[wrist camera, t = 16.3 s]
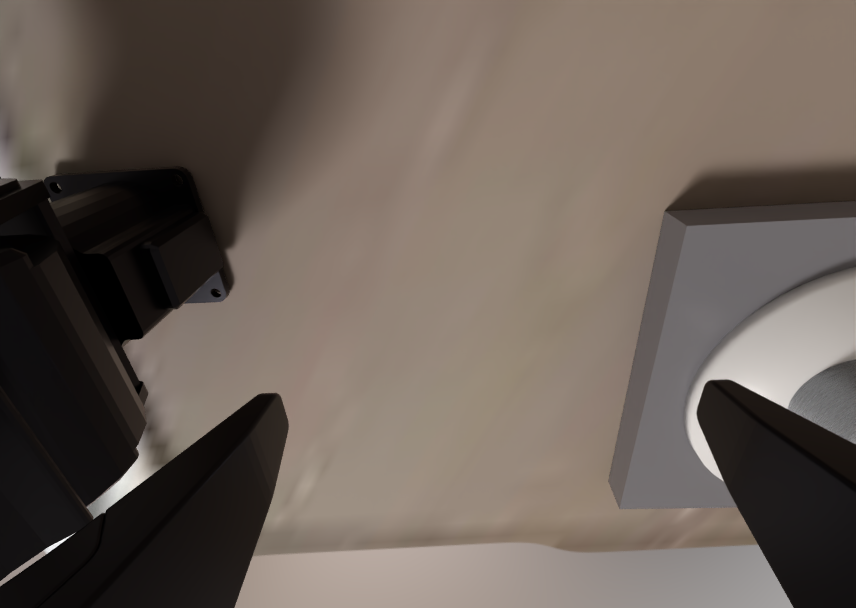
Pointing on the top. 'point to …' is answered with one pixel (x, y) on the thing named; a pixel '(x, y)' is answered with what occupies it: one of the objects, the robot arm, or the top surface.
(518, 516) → the top surface
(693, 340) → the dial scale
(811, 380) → the ball
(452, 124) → the top surface
